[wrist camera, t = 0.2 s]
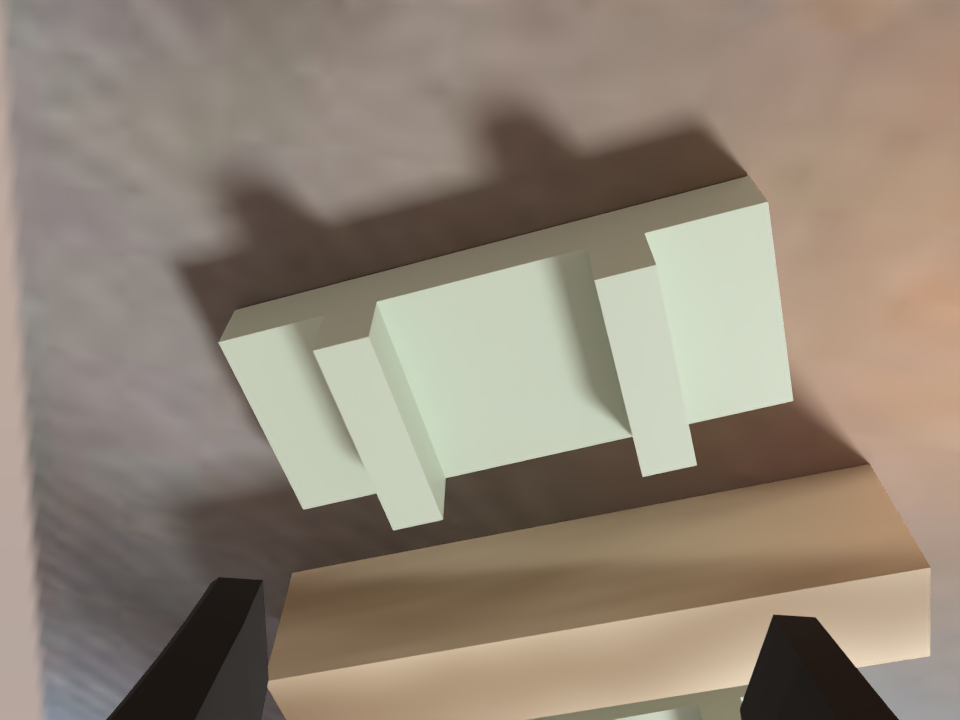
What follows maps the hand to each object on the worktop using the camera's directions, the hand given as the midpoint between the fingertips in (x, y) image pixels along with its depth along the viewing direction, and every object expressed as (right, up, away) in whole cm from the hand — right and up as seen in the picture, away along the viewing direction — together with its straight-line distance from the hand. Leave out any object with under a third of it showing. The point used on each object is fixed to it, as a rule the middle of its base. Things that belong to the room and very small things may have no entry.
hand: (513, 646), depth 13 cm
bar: (+2, -1, +13) cm, 13 cm away
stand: (+2, -2, +12) cm, 13 cm away
